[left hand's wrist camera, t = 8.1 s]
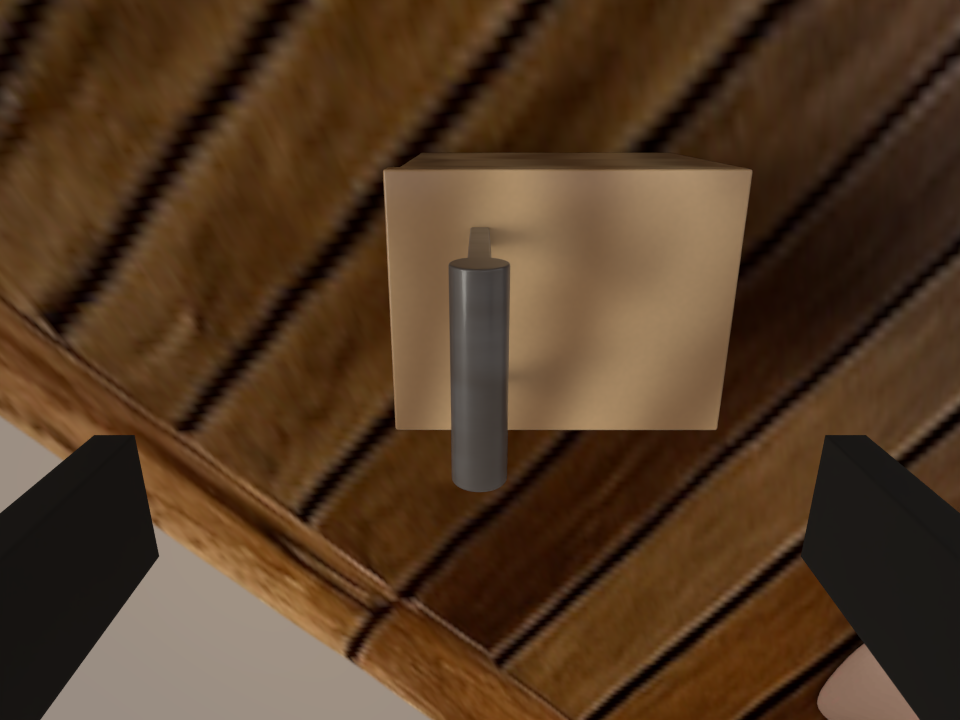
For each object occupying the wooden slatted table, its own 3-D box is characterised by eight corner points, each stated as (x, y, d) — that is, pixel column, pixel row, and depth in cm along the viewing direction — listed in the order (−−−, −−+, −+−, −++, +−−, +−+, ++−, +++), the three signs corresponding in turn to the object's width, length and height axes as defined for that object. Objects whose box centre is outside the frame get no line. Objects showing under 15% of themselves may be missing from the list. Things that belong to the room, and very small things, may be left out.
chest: (426, 344, 37) (408, 419, 28) (421, 152, 33) (398, 167, 24) (653, 344, 37) (709, 419, 28) (671, 152, 33) (743, 166, 24)
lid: (398, 420, 28) (363, 547, 20) (386, 167, 24) (337, 194, 16) (709, 420, 28) (805, 547, 20) (743, 167, 24) (877, 193, 16)
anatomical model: (826, 783, 43) (900, 647, 39) (799, 730, 47) (864, 601, 43) (1014, 812, 44) (1105, 682, 40) (972, 757, 48) (1052, 634, 44)
